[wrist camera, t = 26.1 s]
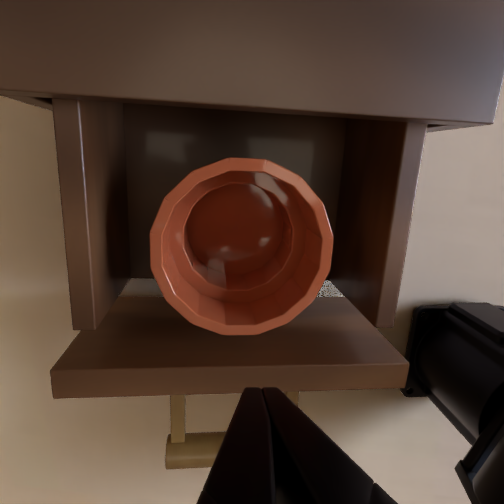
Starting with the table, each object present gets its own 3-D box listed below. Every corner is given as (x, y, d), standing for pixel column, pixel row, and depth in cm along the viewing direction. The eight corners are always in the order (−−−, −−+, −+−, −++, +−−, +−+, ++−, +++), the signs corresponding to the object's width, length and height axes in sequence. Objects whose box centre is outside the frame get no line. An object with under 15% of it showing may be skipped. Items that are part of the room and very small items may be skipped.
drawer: (334, 385, 22) (387, 484, 15) (112, 392, 20) (64, 505, 14) (378, 42, 17) (485, -32, 10) (88, 15, 15) (-5, -95, 9)
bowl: (305, 161, 17) (342, 162, 12) (294, 289, 19) (323, 334, 14) (166, 154, 16) (146, 152, 11) (168, 288, 18) (151, 336, 13)
